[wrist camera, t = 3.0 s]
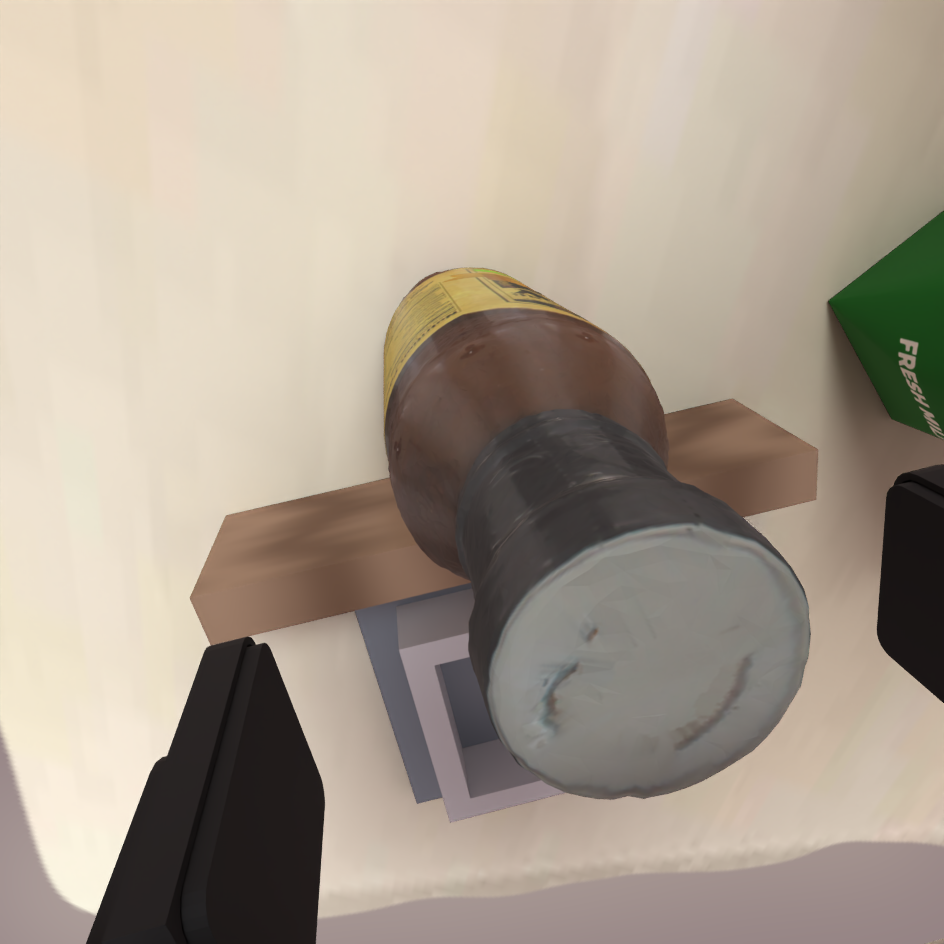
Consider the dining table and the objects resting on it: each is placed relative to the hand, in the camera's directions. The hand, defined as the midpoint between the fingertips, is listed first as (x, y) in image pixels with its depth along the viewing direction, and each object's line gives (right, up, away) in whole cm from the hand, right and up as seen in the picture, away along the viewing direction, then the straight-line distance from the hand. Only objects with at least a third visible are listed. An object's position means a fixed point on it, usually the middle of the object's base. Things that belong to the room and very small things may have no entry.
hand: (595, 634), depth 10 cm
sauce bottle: (-2, +8, +16) cm, 18 cm away
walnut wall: (-1, +2, +19) cm, 19 cm away
